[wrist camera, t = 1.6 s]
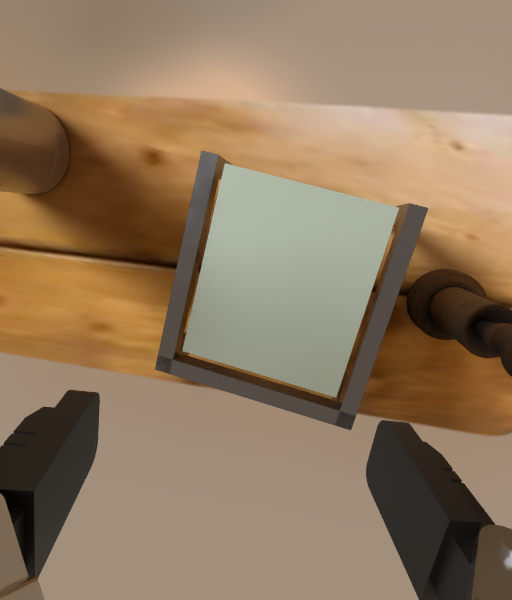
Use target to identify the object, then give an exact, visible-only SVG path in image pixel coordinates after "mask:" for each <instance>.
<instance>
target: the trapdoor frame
mask: <svg viewBox="0 0 512 600" xmlns="http://www.w3.org/2000/svg"><path fill="white" fill-rule="evenodd" d="M225 163H226V164H230V165H232V164H231V163H229V162H228V161H226V160H225V159H224V158H222V157H221V156H219V155H217V154H213V153H209V152H205V151H201V156H200V160H199V165H198V170H197V174H196V179H195V184H194V188H193V193H192V198H191V203H190V207H189V212H188V217H187V221H186V226H185V231H184V235H183V240H182V245H181V250H180V254H179V259H178V264H177V268H176V273H175V278H174V282H173V287H172V292H171V297H170V301H169V306H168V311H167V315H166V320H165V325H164V329H163V334H162V339H161V344H160V348H159V353H158V358H157V362H156V367H155V369H156V370H159V371H162V372H165V373H168V374H172V375H175V376H178V377H181V378H184V379H188V380H191V381H194V382H197V383H201V384H204V385H207V386H210V387H213V388H217V389H220V390H223V391H226V392H230V393H233V394H236V395H239V396H242V397H246V398H249V399H252V400H255V401H259V402H262V403H265V404H268V405H272V406H275V407H278V408H281V409H284V410H287V411H291V412H294V413H297V414H300V415H303V416H307V417H310V418H313V419H317V420H320V421H323V422H326V423H329V424H333V425H336V426H339V427H342V428H345V429H349V430H351V428H352V426H353V423H354V420H355V417H356V414H357V411H358V408H359V406H360V403H361V400H362V397H363V394H364V391H365V388H366V385H367V383H368V380H369V377H370V374H371V371H372V368H373V365H374V363H375V360H376V357H377V354H378V351H379V348H380V345H381V342H382V340H383V337H384V334H385V331H386V328H387V325H388V322H389V319H390V317H391V314H392V311H393V308H394V305H395V302H396V299H397V297H398V294H399V291H400V288H401V285H402V282H403V279H404V276H405V274H406V271H407V268H408V265H409V262H410V259H411V256H412V253H413V251H414V248H415V245H416V242H417V239H418V236H419V233H420V231H421V228H422V225H423V222H424V219H425V216H426V213H427V210H428V208H426V207H422V206H418V205H414V204H410V203H409V204H405V205H400V206H395V207H398V208H399V210H398V213H397V216H396V219H395V222H394V225H393V226H397V229H396V232H395V235H394V238H393V241H392V244H391V247H390V250H389V253H388V256H387V259H386V262H385V265H384V268H383V271H382V274H381V277H380V280H379V283H378V286H377V289H376V291H375V294H374V297H373V300H372V303H371V306H370V309H369V312H368V315H367V318H366V321H365V324H364V327H363V330H362V333H361V336H360V339H359V342H358V345H357V348H356V351H355V354H354V357H353V360H352V363H351V366H350V369H349V372H348V375H347V372H346V370H345V373H344V376H343V379H342V382H341V385H340V388H339V391H338V394H337V397H336V398H335V397H332V400H331V399H328V398H324V397H321V396H318V395H314V394H311V393H308V392H305V391H301V390H298V389H295V388H291V387H288V386H285V385H282V384H278V383H275V382H272V381H269V380H265V379H262V378H259V377H255V376H252V375H249V374H246V373H242V372H239V371H236V370H232V369H229V368H226V367H223V366H219V365H216V364H213V363H210V362H206V361H203V360H200V359H196V358H193V357H190V356H187V355H188V354H189V353H188V352H184V351H182V350H183V345H184V341H185V337H186V332H187V331H186V332H185V333H184V331H185V326H186V322H187V318H188V313H189V309H190V304H191V300H192V295H193V291H194V286H195V282H196V278H197V273H198V269H199V264H200V260H201V255H202V251H203V247H204V242H205V238H206V233H207V229H208V224H209V220H210V216H211V211H212V207H213V202H214V198H215V193H216V189H217V185H218V180H219V179H221V178H222V174H223V169H224V165H225Z"/></svg>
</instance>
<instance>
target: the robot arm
mask: <svg viewBox="0 0 512 600" xmlns="http://www.w3.org/2000/svg"><path fill="white" fill-rule="evenodd" d="M69 153H70V149H69V142H68V138H67V135H66V132H65V130H64V128H63V126H62V124H61V123H60V121H59V120H58V119H57V118H56V116H55V115H54V114H53V113H51V112H50V111H49V110H48V109H46V108H44V107H42V106H40V105H38V104H36V103H33V102H31V101H29V100H26V99H24V98H22V97H19V96H17V95H15V94H13V93H11V92H8V91H6V90H4V89H1V88H0V191H3V192H13V193H23V194H41V193H45V192H47V191H49V190H51V189H52V188H54V187H55V186H56V185H57V184H58V183H59V182H60V181H61V179H62V178H63V177H64V174H65V172H66V170H67V167H68V163H69ZM99 399H100V398H99V394H98V393H96V392H86V391H76V390H69V391H67V393H66V394H65V395H64V396H63V398H62V399H61V400H60V402H59V403H58V404H57V405H56V407H55V408H52V407H42V408H41V409H39V410H37V411H36V412H34V413H32V414H31V415H29V416H28V417H26V418H25V419H24V420H23V421H22V422H21V424H20V425H19V426H18V427H17V428H16V429H15V431H14V433H13V434H11V435H10V436H9V437H8V439H7V440H6V441H5V442H4V445H3V446H1V447H0V600H44V597H43V594H42V591H41V588H40V585H39V582H38V580H37V579H38V577H39V575H40V573H41V570H42V568H43V566H44V564H45V562H46V560H47V558H48V556H49V554H50V552H51V549H52V548H53V546H54V543H55V541H56V539H57V537H58V535H59V533H60V531H61V529H62V527H63V525H64V523H65V521H66V518H67V516H68V514H69V512H70V510H71V508H72V506H73V504H74V502H75V500H76V498H77V495H78V494H79V491H80V489H81V487H82V485H83V483H84V481H85V479H86V477H87V475H88V473H89V471H90V468H91V466H92V464H93V461H94V458H95V454H96V450H97V444H98V426H99V402H100V400H99ZM366 477H367V483H368V487H369V489H370V491H371V494H372V496H373V498H374V500H375V502H376V505H377V507H378V509H379V511H380V514H381V515H382V518H383V520H384V522H385V525H386V527H387V529H388V531H389V533H390V536H391V538H392V540H393V543H394V545H395V547H396V549H397V551H398V554H399V556H400V558H401V560H402V563H403V565H404V567H405V569H406V571H407V574H408V576H409V578H410V580H411V583H412V585H413V587H414V589H415V591H416V593H417V596H418V598H419V600H512V529H510V528H507V527H504V526H499V525H495V523H494V522H493V521H492V519H491V518H490V517H489V516H488V514H487V513H486V512H485V510H484V509H483V508H482V506H481V505H480V504H479V503H478V501H477V500H476V499H475V497H474V496H473V495H472V493H471V492H470V491H469V490H468V488H467V487H466V486H465V484H464V483H462V482H461V481H462V480H461V479H460V478H459V476H458V475H457V474H456V473H455V472H454V471H453V470H452V467H451V466H450V465H449V464H448V462H447V461H446V460H445V458H444V457H443V456H442V454H440V453H439V452H438V451H437V450H435V449H434V448H433V447H432V446H430V445H429V444H428V443H426V442H423V441H422V440H421V439H420V437H419V436H418V435H417V433H416V432H415V431H414V429H413V428H412V426H411V425H410V424H409V423H405V422H395V421H385V420H382V421H381V422H380V423H379V424H378V427H377V430H376V433H375V437H374V441H373V444H372V448H371V451H370V455H369V459H368V462H367V468H366Z"/></svg>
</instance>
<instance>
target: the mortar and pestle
mask: <svg viewBox="0 0 512 600" xmlns="http://www.w3.org/2000/svg"><path fill="white" fill-rule="evenodd" d="M407 311H408V314H409V316H410V318H411V320H412V321H413V322H414V324H415V325H416V326H417V327H419V328H420V329H421V330H422V331H423V332H424V333H426V334H427V335H429V336H431V337H434V338H437V339H442V340H452V339H456V340H457V341H458V342H459V343H460V344H462V345H463V346H464V347H465V348H466V349H467V350H468V351H470V352H471V353H472V354H474V355H476V356H479V357H483V358H495V357H500V358H501V361H502V364H503V366H504V368H505V370H506V371H507V373H508V374H509V375H510V376H512V310H510V309H509V308H507V307H505V306H503V305H501V304H498V303H496V302H493V301H490V300H488V299H487V298H486V294H485V292H484V290H483V288H482V287H481V285H480V284H479V283H478V282H477V281H476V280H475V279H473V278H472V277H470V276H468V275H466V274H463V273H460V272H457V271H453V270H445V269H443V270H435V271H432V272H429V273H427V274H425V275H423V276H422V277H420V278H419V279H418V280H417V281H416V282H415V283H414V284H413V286H412V287H411V289H410V291H409V293H408V297H407Z"/></svg>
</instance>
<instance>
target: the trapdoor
mask: <svg viewBox="0 0 512 600" xmlns="http://www.w3.org/2000/svg"><path fill="white" fill-rule="evenodd" d="M398 210H399V208H398V207H394V206H390V205H386V204H383V203H379V202H375V201H371V200H367V199H363V198H359V197H355V196H351V195H347V194H343V193H340V192H336V191H332V190H328V189H324V188H320V187H316V186H312V185H308V184H304V183H300V182H296V181H293V180H289V179H285V178H281V177H277V176H273V175H269V174H265V173H261V172H257V171H253V170H250V169H246V168H242V167H238V166H234V165H230V164H226V163H225V165H224V169H223V174H222V178H221V182H220V187H219V191H218V196H217V200H216V204H215V209H214V213H213V218H212V222H211V226H210V231H209V235H208V240H207V244H206V249H205V253H204V257H203V262H202V266H201V271H200V275H199V279H198V284H197V288H196V293H195V297H194V301H193V306H192V310H191V315H190V319H189V323H188V328H187V332H186V337H185V341H184V345H183V350H182V351H184V352H188V353H191V354H194V355H197V356H201V357H204V358H207V359H211V360H214V361H217V362H220V363H224V364H227V365H230V366H234V367H237V368H240V369H243V370H247V371H250V372H253V373H257V374H260V375H263V376H266V377H270V378H273V379H276V380H280V381H283V382H286V383H289V384H293V385H296V386H299V387H303V388H306V389H309V390H312V391H316V392H319V393H322V394H326V395H329V396H332V397H335V398H336V397H337V394H338V391H339V388H340V385H341V382H342V379H343V376H344V373H345V370H346V367H347V364H348V361H349V358H350V355H351V351H352V348H353V345H354V342H355V339H356V336H357V333H358V330H359V327H360V324H361V321H362V318H363V315H364V312H365V309H366V306H367V303H368V300H369V297H370V294H371V291H372V288H373V285H374V282H375V279H376V276H377V273H378V270H379V267H380V264H381V261H382V258H383V255H384V252H385V249H386V246H387V243H388V240H389V237H390V234H391V231H392V228H393V225H394V222H395V219H396V216H397V213H398Z"/></svg>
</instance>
